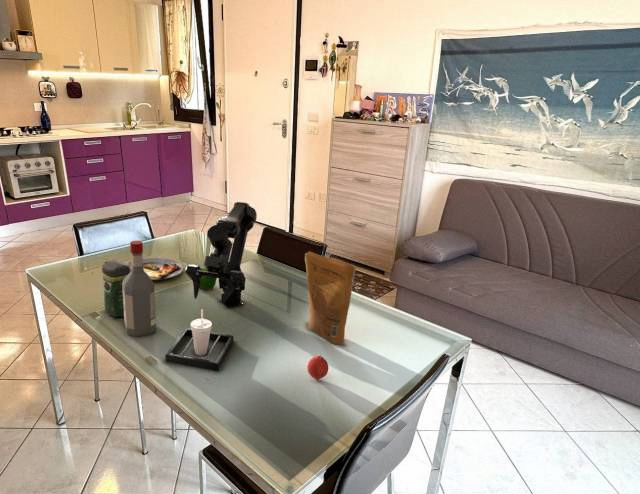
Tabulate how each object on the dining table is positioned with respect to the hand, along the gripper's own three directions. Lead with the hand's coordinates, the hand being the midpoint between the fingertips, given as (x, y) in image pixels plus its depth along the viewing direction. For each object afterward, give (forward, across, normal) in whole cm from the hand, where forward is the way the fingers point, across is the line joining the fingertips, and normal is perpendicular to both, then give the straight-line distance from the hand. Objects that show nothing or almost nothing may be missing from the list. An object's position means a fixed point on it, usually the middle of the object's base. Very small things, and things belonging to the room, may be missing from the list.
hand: (209, 300), depth 135 cm
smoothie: (+15, 0, +4) cm, 16 cm away
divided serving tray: (+15, 0, +4) cm, 16 cm away
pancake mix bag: (0, +35, +19) cm, 40 cm away
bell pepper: (-15, -13, +35) cm, 41 cm away
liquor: (+11, -23, +8) cm, 27 cm away
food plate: (-21, -40, +41) cm, 61 cm away
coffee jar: (+5, -36, +15) cm, 39 cm away
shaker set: (-35, +28, +54) cm, 70 cm away
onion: (+18, +36, +2) cm, 40 cm away
